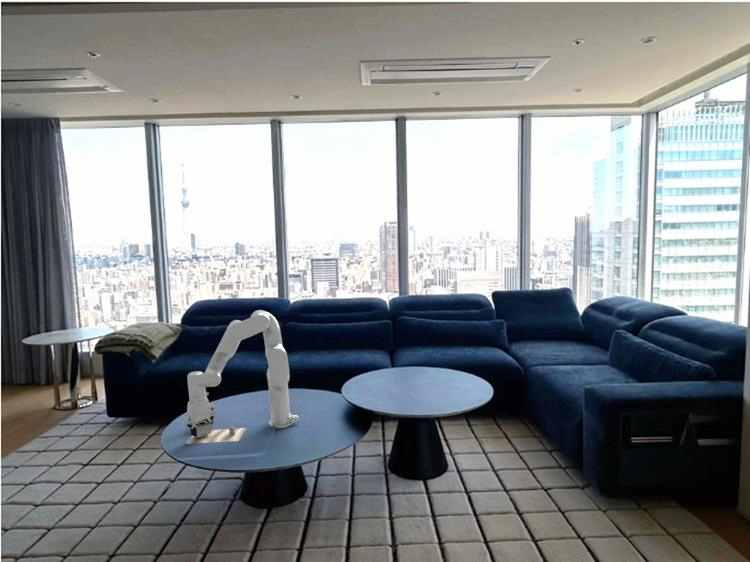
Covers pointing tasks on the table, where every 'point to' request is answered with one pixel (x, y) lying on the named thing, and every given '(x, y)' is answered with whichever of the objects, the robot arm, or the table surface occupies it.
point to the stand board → (219, 436)
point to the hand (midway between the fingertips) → (201, 432)
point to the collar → (202, 428)
